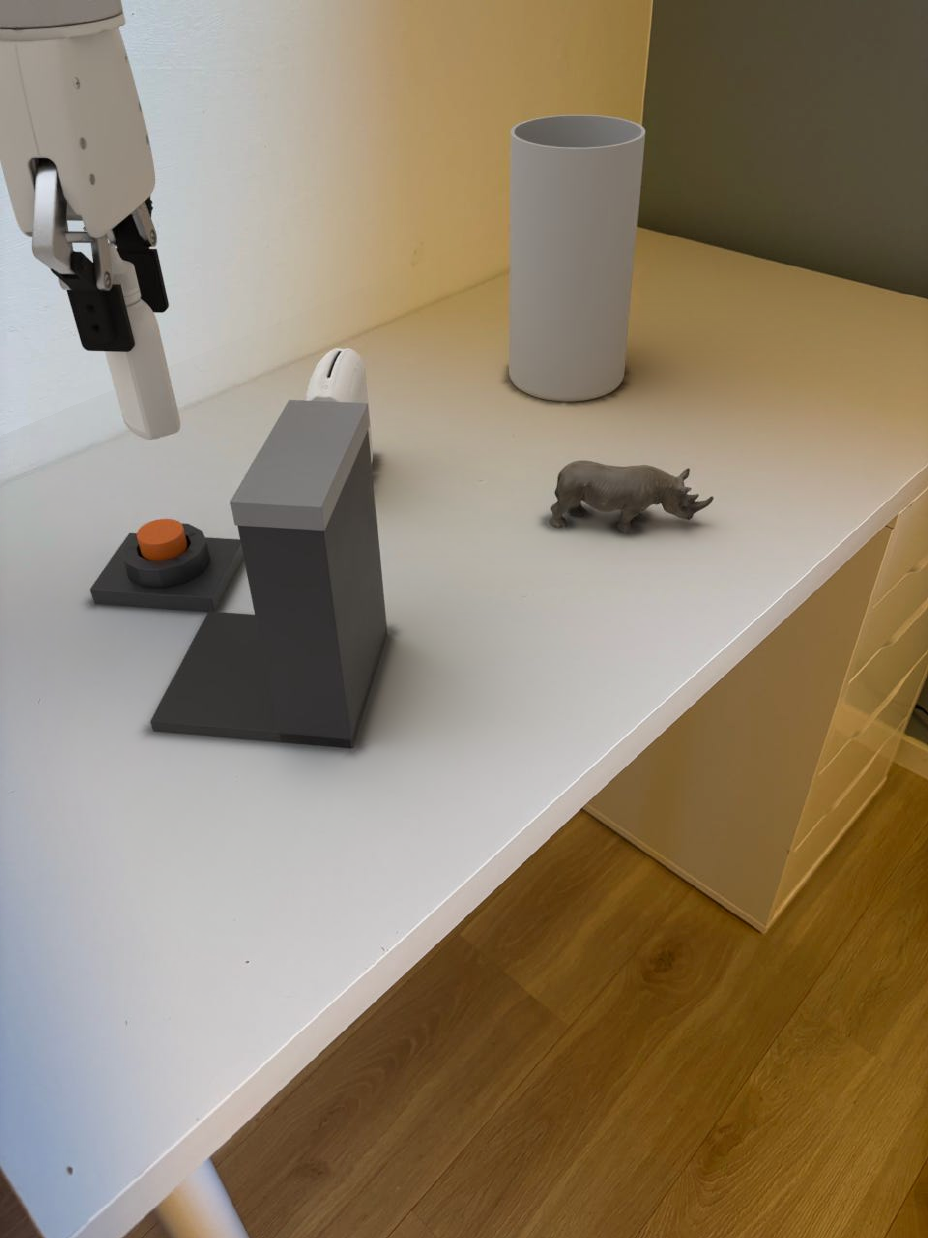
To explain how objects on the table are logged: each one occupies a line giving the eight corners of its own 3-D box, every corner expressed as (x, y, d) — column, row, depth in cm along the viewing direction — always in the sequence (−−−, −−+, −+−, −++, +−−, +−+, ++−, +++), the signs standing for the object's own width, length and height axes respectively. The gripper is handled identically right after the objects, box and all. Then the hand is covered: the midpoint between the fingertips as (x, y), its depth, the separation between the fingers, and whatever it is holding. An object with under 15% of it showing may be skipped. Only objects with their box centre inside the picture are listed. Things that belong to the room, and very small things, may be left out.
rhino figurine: (710, 543, 84) (720, 482, 80) (547, 533, 86) (550, 472, 82) (707, 516, 87) (717, 456, 83) (551, 507, 89) (553, 448, 85)
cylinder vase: (485, 377, 109) (483, 131, 93) (564, 344, 116) (575, 108, 100) (567, 416, 102) (580, 156, 86) (647, 379, 108) (673, 129, 92)
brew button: (134, 560, 79) (129, 542, 77) (151, 535, 81) (146, 517, 80) (178, 563, 78) (173, 545, 77) (193, 537, 81) (189, 519, 80)
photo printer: (360, 516, 88) (347, 388, 81) (313, 514, 89) (295, 387, 81) (378, 457, 96) (367, 335, 89) (334, 456, 97) (320, 335, 89)
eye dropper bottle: (111, 445, 65) (59, 262, 58) (127, 405, 70) (82, 231, 62) (178, 441, 66) (135, 259, 58) (190, 402, 70) (152, 227, 62)
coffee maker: (152, 734, 68) (76, 492, 56) (211, 622, 77) (157, 393, 65) (354, 752, 66) (321, 506, 54) (389, 635, 76) (368, 402, 63)
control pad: (94, 606, 79) (83, 571, 77) (133, 548, 85) (124, 514, 83) (215, 614, 78) (207, 579, 76) (246, 555, 84) (239, 521, 82)
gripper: (48, -25, 59) (122, 279, 70) (-114, 25, 46) (10, 388, 57) (170, -27, 58) (225, 280, 70) (41, 24, 45) (135, 392, 56)
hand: (127, 326), depth 63 cm, fingers closed on eye dropper bottle, 5 cm apart
